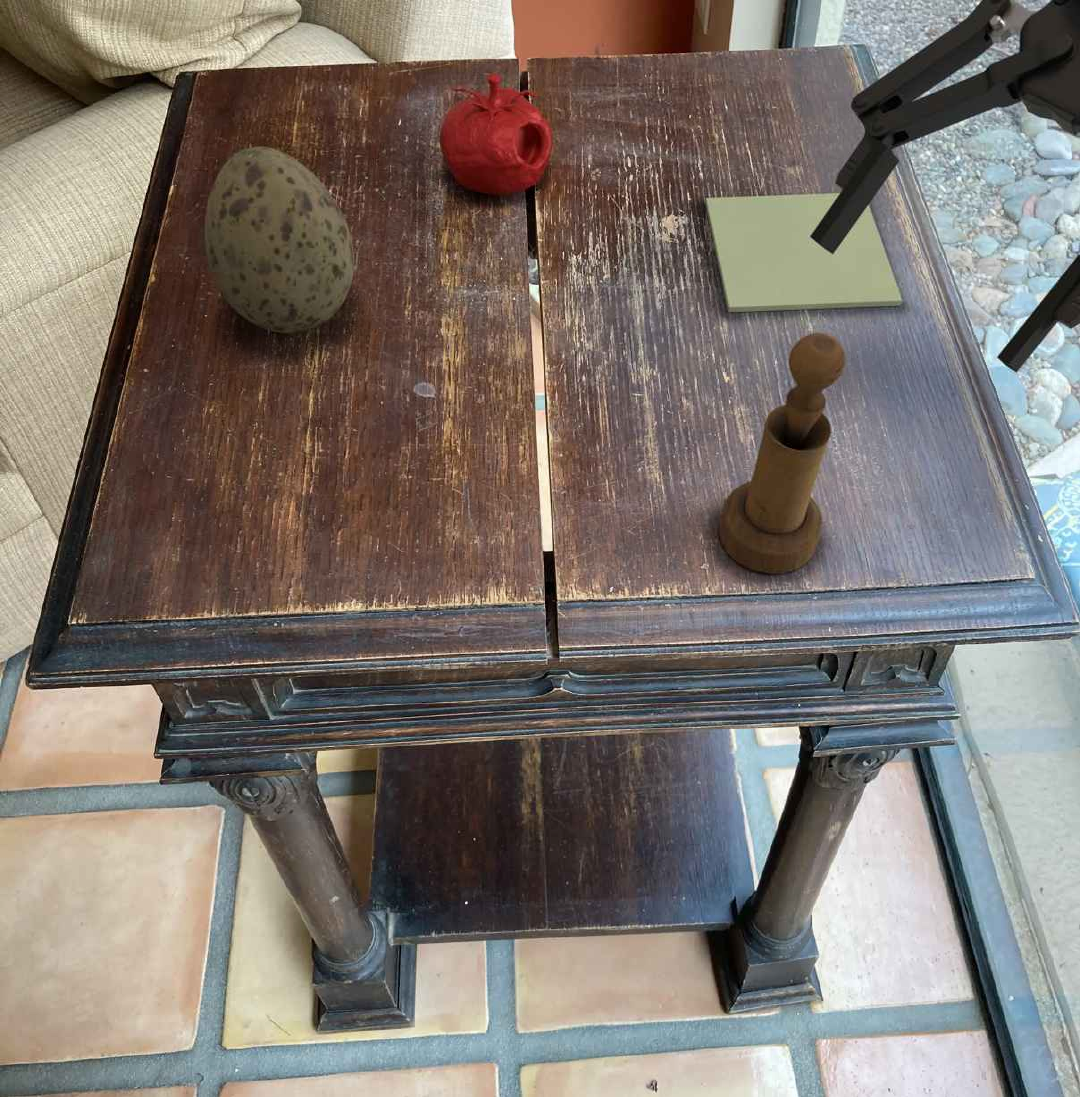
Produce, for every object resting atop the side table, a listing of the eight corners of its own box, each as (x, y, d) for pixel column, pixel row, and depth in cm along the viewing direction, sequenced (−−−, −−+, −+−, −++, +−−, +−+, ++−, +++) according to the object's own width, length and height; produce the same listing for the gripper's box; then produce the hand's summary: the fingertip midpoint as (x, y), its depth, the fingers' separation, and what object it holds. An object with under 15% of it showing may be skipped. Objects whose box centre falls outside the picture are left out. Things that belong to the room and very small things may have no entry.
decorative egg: (210, 304, 86) (152, 140, 74) (329, 256, 89) (293, 92, 77) (264, 384, 81) (211, 222, 68) (388, 330, 84) (359, 166, 71)
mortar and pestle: (816, 503, 73) (882, 307, 58) (816, 580, 70) (887, 392, 55) (720, 493, 74) (762, 297, 59) (716, 569, 70) (759, 380, 55)
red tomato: (437, 208, 93) (426, 112, 85) (449, 141, 98) (440, 45, 91) (549, 211, 92) (548, 115, 84) (555, 143, 98) (555, 47, 90)
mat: (900, 305, 85) (902, 300, 84) (727, 312, 84) (728, 306, 84) (862, 197, 93) (864, 191, 92) (704, 203, 92) (705, 197, 92)
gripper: (1400, 84, 53) (1102, 430, 59) (985, -90, 64) (775, 219, 71) (1424, 16, 46) (1088, 413, 53) (959, -164, 57) (731, 183, 64)
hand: (909, 303), depth 62 cm, fingers open, 13 cm apart
